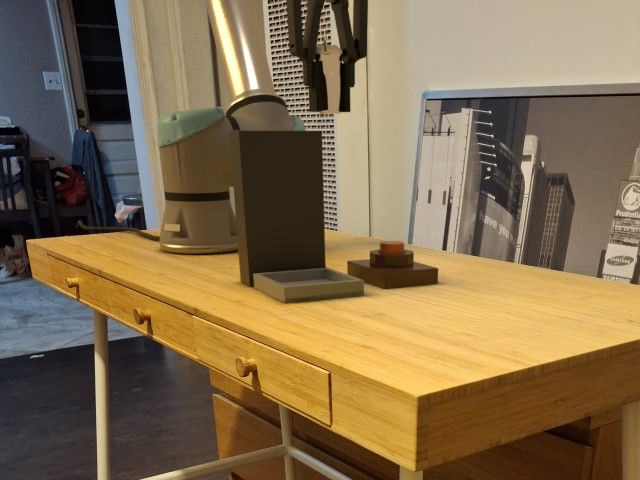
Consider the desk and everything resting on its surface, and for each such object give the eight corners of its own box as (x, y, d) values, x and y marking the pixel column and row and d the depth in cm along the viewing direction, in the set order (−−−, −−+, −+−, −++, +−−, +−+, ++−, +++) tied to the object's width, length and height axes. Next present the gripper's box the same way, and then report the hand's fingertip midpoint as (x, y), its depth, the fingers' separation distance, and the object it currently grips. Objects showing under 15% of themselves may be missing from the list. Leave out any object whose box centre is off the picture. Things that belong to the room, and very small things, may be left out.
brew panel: (347, 275, 117) (346, 248, 115) (397, 271, 120) (398, 244, 119) (384, 288, 107) (384, 259, 105) (438, 283, 111) (439, 255, 109)
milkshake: (313, 114, 113) (308, 36, 108) (317, 114, 118) (312, 39, 113) (343, 113, 113) (340, 35, 108) (346, 113, 118) (342, 38, 113)
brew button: (375, 254, 113) (375, 241, 112) (396, 252, 114) (396, 240, 114) (387, 257, 110) (387, 244, 109) (408, 255, 112) (408, 243, 111)
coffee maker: (240, 282, 111) (228, 130, 102) (315, 275, 116) (310, 130, 107) (283, 303, 98) (274, 131, 89) (365, 295, 103) (364, 131, 94)
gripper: (278, -93, 98) (286, 110, 109) (393, -77, 105) (391, 112, 116) (257, -81, 104) (267, 111, 115) (368, -66, 111) (368, 112, 122)
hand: (329, 111), depth 115 cm, fingers closed on milkshake, 4 cm apart
